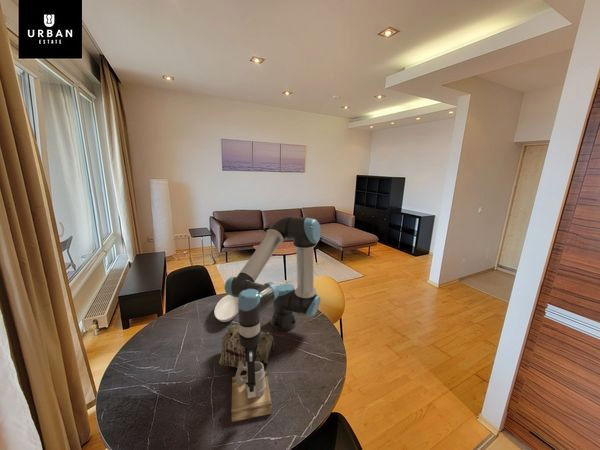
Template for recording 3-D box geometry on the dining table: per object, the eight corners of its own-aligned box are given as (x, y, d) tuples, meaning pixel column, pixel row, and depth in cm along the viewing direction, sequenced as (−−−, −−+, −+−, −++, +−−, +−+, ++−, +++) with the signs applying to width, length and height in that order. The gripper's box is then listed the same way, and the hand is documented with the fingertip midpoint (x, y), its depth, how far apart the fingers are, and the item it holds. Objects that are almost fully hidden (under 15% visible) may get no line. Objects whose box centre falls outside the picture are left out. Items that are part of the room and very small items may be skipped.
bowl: (236, 329, 136) (236, 319, 135) (209, 329, 135) (208, 319, 134) (245, 301, 165) (245, 293, 164) (222, 301, 164) (222, 293, 163)
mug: (263, 399, 91) (262, 370, 89) (232, 396, 92) (231, 367, 90) (268, 383, 98) (267, 355, 96) (239, 380, 99) (238, 354, 97)
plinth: (266, 378, 104) (266, 370, 103) (271, 413, 89) (271, 404, 88) (232, 384, 101) (232, 376, 100) (231, 422, 86) (231, 412, 85)
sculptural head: (277, 321, 124) (228, 313, 124) (273, 341, 102) (214, 332, 102) (272, 354, 124) (223, 347, 124) (267, 381, 103) (208, 373, 102)
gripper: (238, 314, 100) (240, 359, 104) (239, 358, 76) (240, 413, 80) (257, 311, 102) (257, 356, 106) (263, 354, 78) (263, 409, 82)
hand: (250, 381), depth 93 cm, fingers open, 13 cm apart
